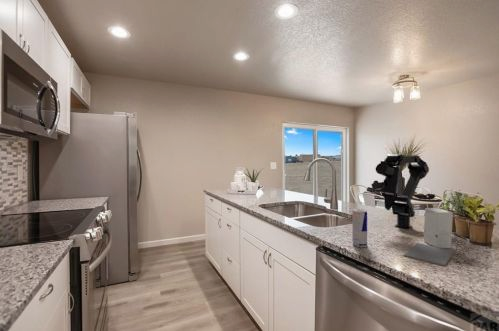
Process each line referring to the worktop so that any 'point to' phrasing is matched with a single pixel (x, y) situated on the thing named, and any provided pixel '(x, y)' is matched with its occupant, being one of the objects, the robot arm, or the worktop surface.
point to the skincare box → (438, 227)
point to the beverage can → (359, 227)
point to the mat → (430, 254)
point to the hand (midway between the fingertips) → (387, 209)
